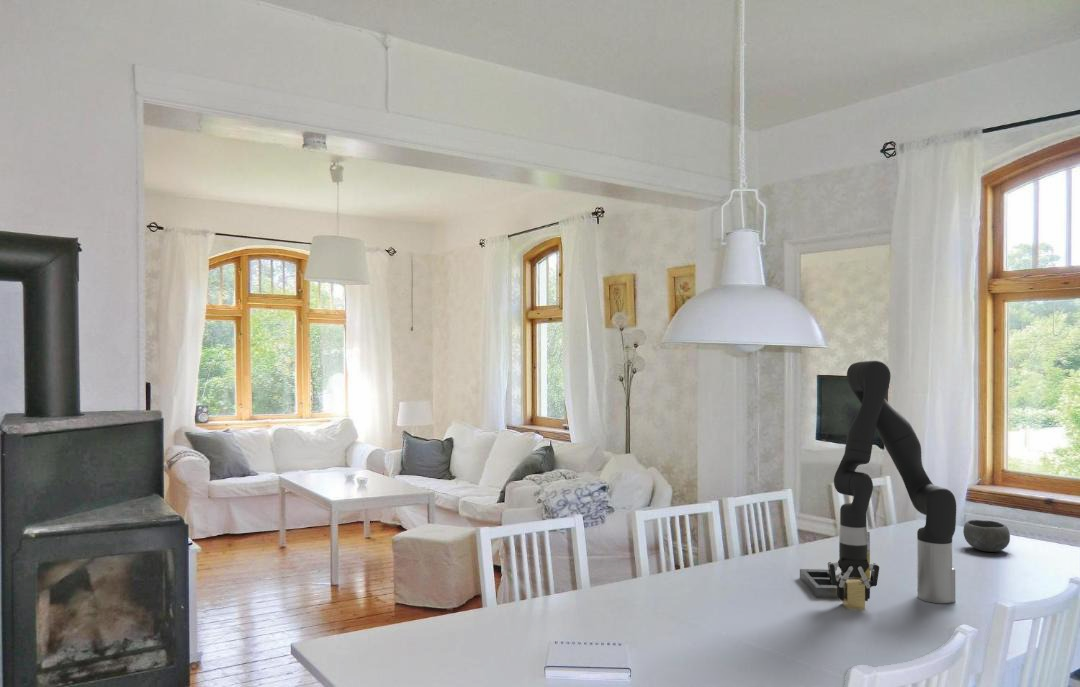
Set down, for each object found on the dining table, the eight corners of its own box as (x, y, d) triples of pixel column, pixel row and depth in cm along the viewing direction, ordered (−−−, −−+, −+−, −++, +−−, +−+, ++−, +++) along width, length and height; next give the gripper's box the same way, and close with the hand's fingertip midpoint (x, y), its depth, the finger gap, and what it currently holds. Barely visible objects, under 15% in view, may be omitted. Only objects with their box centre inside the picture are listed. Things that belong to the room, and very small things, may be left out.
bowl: (1019, 556, 278) (1019, 528, 278) (977, 555, 279) (977, 527, 279) (995, 545, 293) (995, 519, 293) (955, 545, 293) (955, 518, 294)
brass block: (859, 604, 224) (859, 579, 224) (865, 609, 219) (864, 584, 220) (842, 603, 225) (842, 579, 225) (847, 608, 220) (847, 584, 220)
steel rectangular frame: (828, 579, 249) (828, 569, 249) (847, 598, 229) (847, 588, 229) (799, 578, 250) (799, 568, 250) (816, 597, 230) (816, 587, 230)
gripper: (874, 538, 225) (874, 596, 225) (823, 537, 227) (823, 595, 226) (883, 545, 218) (884, 605, 218) (831, 543, 219) (831, 603, 219)
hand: (853, 599), depth 222 cm, fingers open, 6 cm apart
